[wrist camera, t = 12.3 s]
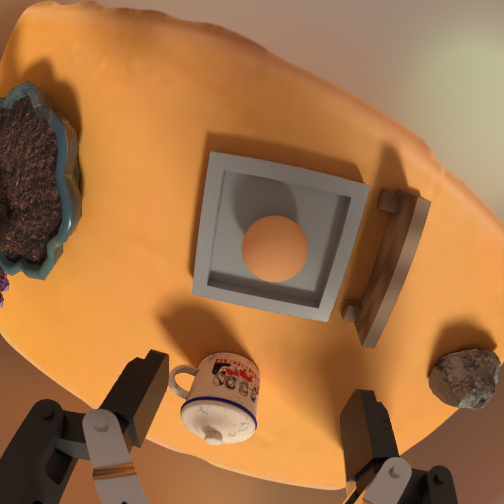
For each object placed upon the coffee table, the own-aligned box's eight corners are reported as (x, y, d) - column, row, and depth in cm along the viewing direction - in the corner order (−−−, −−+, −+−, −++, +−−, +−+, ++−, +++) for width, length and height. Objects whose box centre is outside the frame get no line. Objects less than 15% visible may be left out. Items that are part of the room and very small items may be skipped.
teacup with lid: (275, 369, 36) (270, 441, 25) (241, 402, 39) (229, 466, 28) (195, 326, 35) (164, 394, 24) (170, 366, 38) (141, 427, 27)
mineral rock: (496, 352, 32) (523, 390, 23) (454, 395, 36) (473, 435, 27) (467, 325, 31) (500, 369, 22) (418, 376, 35) (438, 425, 25)
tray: (325, 312, 32) (327, 322, 30) (197, 285, 32) (191, 294, 30) (364, 183, 26) (370, 186, 24) (215, 151, 27) (210, 151, 25)
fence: (376, 323, 32) (387, 349, 27) (340, 318, 32) (347, 344, 27) (422, 196, 26) (445, 206, 21) (383, 183, 26) (401, 191, 22)
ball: (312, 257, 29) (318, 283, 24) (257, 272, 30) (250, 300, 25) (296, 201, 27) (299, 216, 22) (238, 219, 29) (226, 237, 23)
